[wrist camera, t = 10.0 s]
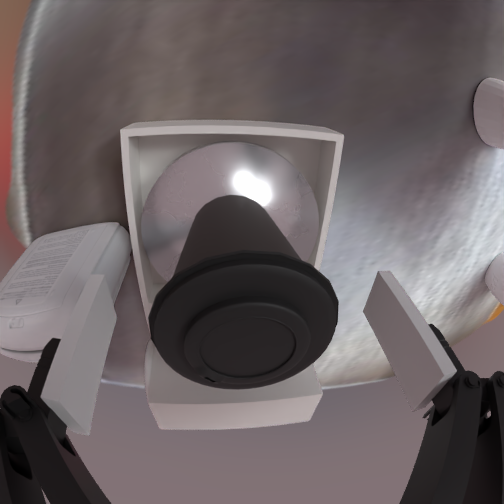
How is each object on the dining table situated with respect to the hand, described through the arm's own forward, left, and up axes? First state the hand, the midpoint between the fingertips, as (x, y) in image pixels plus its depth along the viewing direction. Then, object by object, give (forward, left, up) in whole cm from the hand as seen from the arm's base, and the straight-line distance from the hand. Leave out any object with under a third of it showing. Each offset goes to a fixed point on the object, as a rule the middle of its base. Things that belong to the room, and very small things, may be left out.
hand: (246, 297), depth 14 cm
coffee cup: (0, 0, -7) cm, 7 cm away
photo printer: (+3, -13, -11) cm, 18 cm away
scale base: (+3, 0, -11) cm, 11 cm away
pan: (0, 0, -10) cm, 10 cm away
